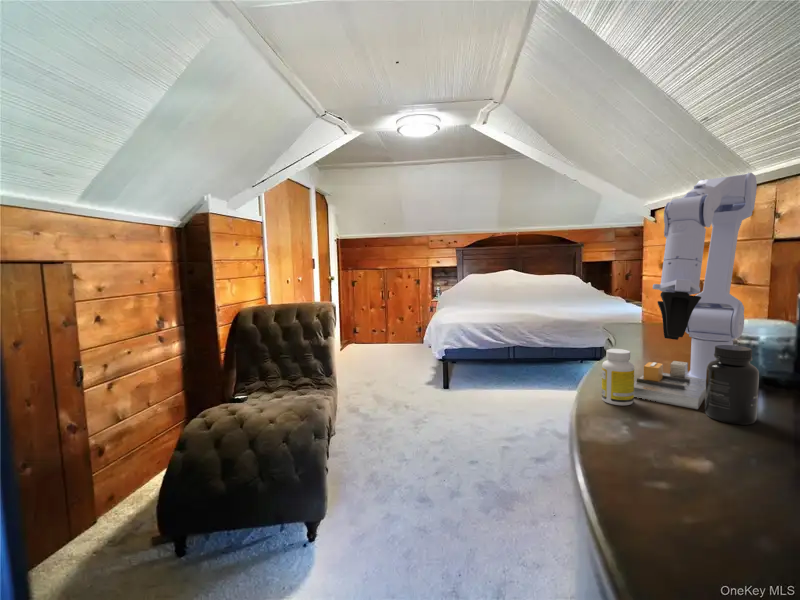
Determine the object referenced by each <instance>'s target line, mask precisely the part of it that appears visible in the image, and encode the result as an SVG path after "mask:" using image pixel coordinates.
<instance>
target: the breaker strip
mask: <svg viewBox="0 0 800 600" xmlns="http://www.w3.org/2000/svg"><path fill="white" fill-rule="evenodd" d="M688 365H689V362H688V361H687V362H686V361H685V362H684V361H677V360H673V361H672V362H671V363H670V366H669V367H670V368H669V371H670V372H669V373H667V372H663V378H662V379H661V380H660V381H659V382H658V381H652V380H646V379H644V373H643V374H642V375H641V376H640V377H637V378H636V380H634V397H637V398H636V399H639V398H642V399H641V400H645V399H648V400H647V401H650V400H651V401H650V402H655V401H656V402H655V403H662V404H666V405H667V404H668V405H673V406H678V407H681V408H682V407H683V408H687V409H694V410H699V408H700V406H701V405H702V404H703V401H705V390H706V379H702V378H695V377H688V376H687V374H688V372H689V371H688V369H689V367H688Z"/></svg>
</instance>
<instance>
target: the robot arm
mask: <svg viewBox="0 0 800 600" xmlns="http://www.w3.org/2000/svg"><path fill="white" fill-rule="evenodd" d="M757 187H758V186H757V176H756V174H754V173H753V172H747V173H743V174H735V175H729V176H723V177H722V176H721V177H713V178H707V179H704V178H703V179H701V178H700V179H699V180H698V182H697V183H696V184H695V185H693V189H691V190H689V191H688V192H687V193H686V194H685V195H684V196H682V197H680V198H679V197H678V198H673V199H671V201H670V202H669V201H668V202H666V204H665V206H664V209H663V223H664V229H663V236H664V237H665V238H666V239H665V247H664V255H663V262H662V270H661V277H660V279H661V280H660V284H658V283H653V284H652V290H658V291H660V299H661V300H662V301H661V300H658V301H657V306H658V307H659V310H660V313H661V316H662V317H661V318H662V329H663V337H664V339H668V340H674V341H675V340H676V341H678V340H679V338H683V337H684V335H685V333H686V334H688V338H691V342H690V343H691V344H690V345H691V347H690V366H689V367H690V370H689V371H688V374H687V376H688V377H695V378H702V379H706V369H707V365H708V364H709V363H710V362H712V361H714V360H716V358H715V357H714V353H715V346H717V345H734V341H735V340H736V339H739V338H740V337H741V336H742V334H743V333H744V328H745V306H744V304H743V302H742V301H741V300H740V299H738V298H737V297H736V296H734V295H733V294H731V286H732V281H733V280H732V279H733V272H734V264H735V258H736V251H737V244H738V236H739V233H740V232H739V231H740V229H741V225H742V223H743V221H744V220H746V219H748V218H751V216H752V215H753V211H754V210H755V204H756V197H757ZM711 227H712V230H711V237H710V242H709V249H708V256H707V261H706V267H705V268H706V269H705V275H704V280H703V281H704V282H703V288H702V291H701V287H700V281H701V273H702V267H703V264H702V263H703V257H704V248H705V240H706V231H707V229H706V228H708V229H709V228H711Z"/></svg>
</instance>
